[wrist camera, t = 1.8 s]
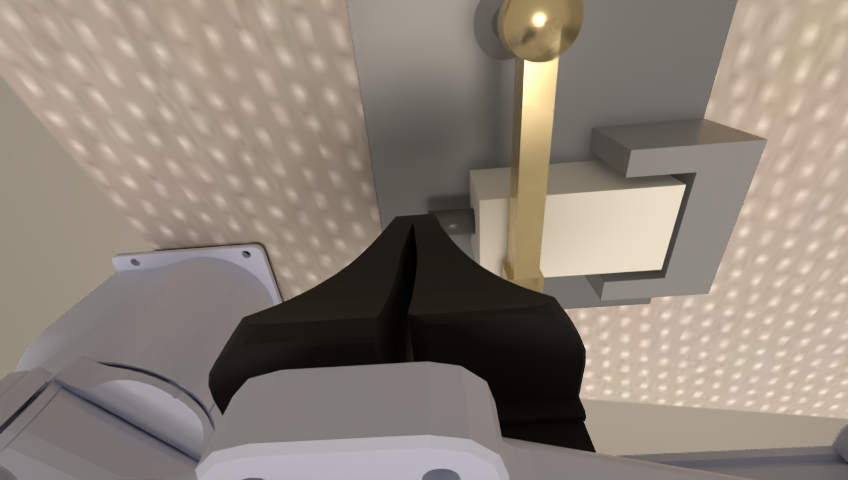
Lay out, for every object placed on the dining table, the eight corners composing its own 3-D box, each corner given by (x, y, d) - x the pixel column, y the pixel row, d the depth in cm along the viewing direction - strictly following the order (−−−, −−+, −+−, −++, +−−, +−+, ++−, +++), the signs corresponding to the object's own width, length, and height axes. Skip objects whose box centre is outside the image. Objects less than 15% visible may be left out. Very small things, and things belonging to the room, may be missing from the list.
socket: (396, 313, 26) (391, 367, 22) (346, -16, 16) (320, -30, 12) (644, 297, 25) (688, 350, 21) (742, -55, 16) (855, -84, 12)
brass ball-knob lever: (493, 289, 18) (498, 308, 17) (498, -19, 12) (506, -24, 11) (541, 286, 18) (550, 305, 17) (572, -26, 12) (589, -32, 11)
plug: (431, 244, 22) (432, 284, 19) (425, 173, 20) (426, 204, 17) (623, 231, 22) (661, 269, 18) (639, 156, 20) (685, 184, 16)
